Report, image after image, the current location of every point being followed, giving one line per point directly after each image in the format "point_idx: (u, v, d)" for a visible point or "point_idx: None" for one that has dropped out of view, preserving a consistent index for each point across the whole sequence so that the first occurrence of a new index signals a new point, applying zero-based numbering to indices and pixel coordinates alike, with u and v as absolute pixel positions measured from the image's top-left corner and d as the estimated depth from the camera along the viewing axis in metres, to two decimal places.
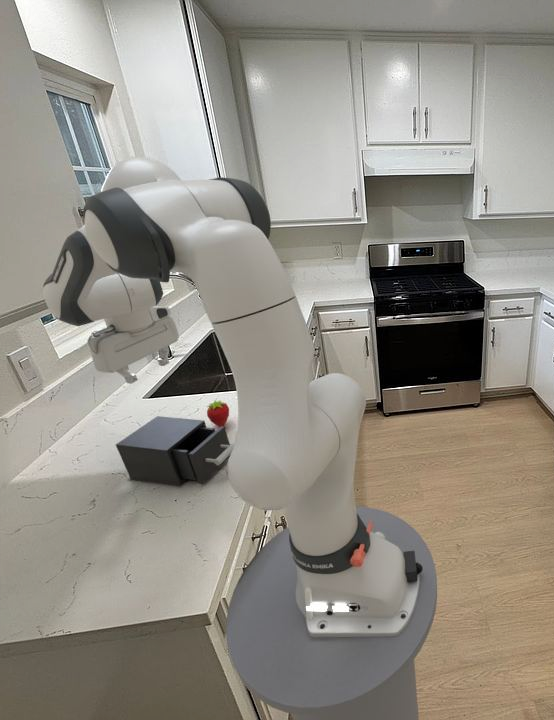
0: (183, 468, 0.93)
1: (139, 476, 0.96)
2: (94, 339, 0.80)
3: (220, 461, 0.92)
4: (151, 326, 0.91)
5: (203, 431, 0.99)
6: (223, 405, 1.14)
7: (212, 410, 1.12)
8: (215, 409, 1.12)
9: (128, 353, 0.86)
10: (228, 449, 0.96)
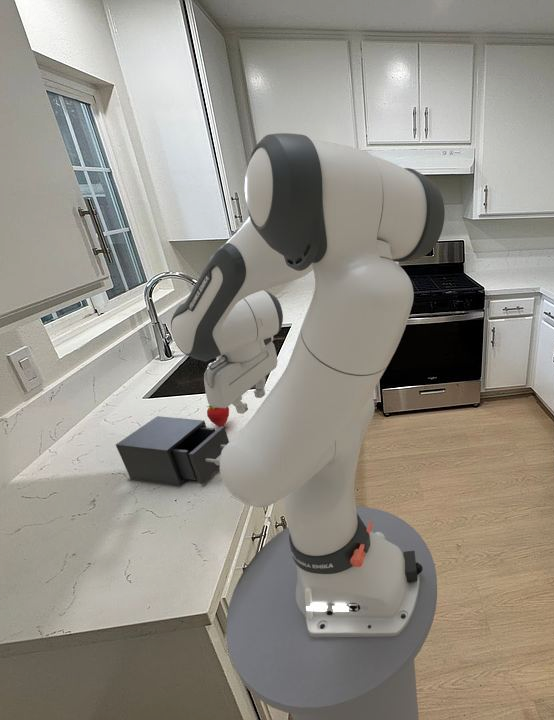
0: (183, 468, 0.93)
1: (139, 476, 0.96)
2: (210, 372, 0.73)
3: None
4: None
5: (203, 431, 0.99)
6: None
7: (212, 410, 1.12)
8: (215, 409, 1.12)
9: (238, 385, 0.79)
10: None
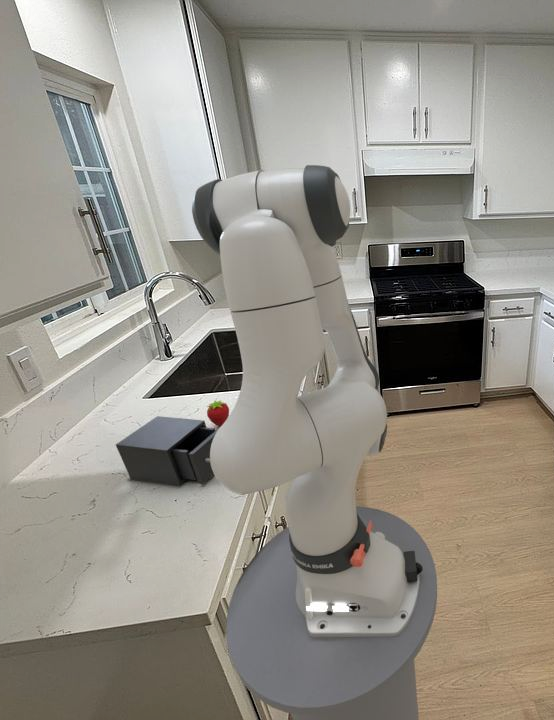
0: (183, 468, 0.93)
1: (139, 476, 0.96)
2: None
3: None
4: None
5: (203, 431, 0.99)
6: (223, 405, 1.14)
7: (212, 410, 1.12)
8: (215, 409, 1.12)
9: None
10: None
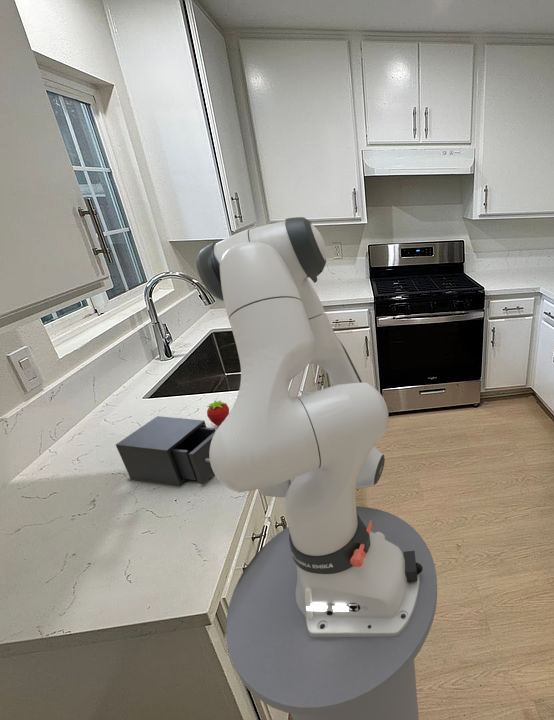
0: (183, 468, 0.93)
1: (139, 476, 0.96)
2: None
3: None
4: None
5: (203, 431, 0.99)
6: (223, 405, 1.14)
7: (212, 410, 1.12)
8: (215, 409, 1.12)
9: None
10: None
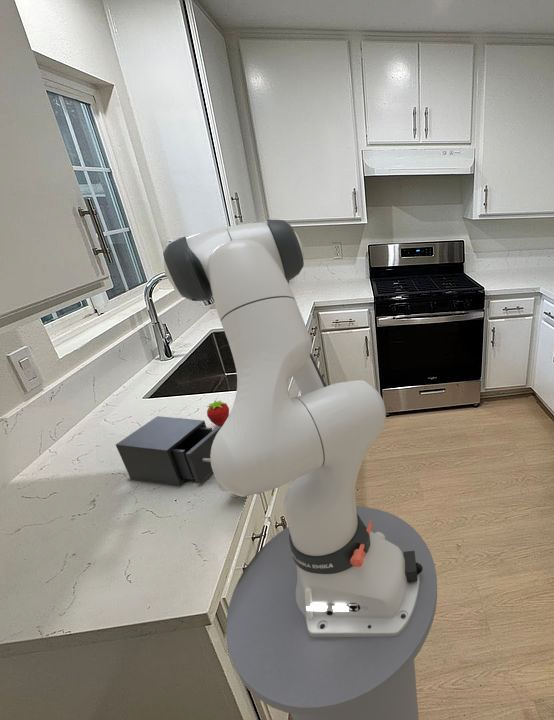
0: (180, 468, 0.93)
1: (139, 476, 0.96)
2: None
3: None
4: None
5: (200, 431, 1.00)
6: (223, 405, 1.14)
7: (212, 410, 1.12)
8: (215, 409, 1.12)
9: None
10: None
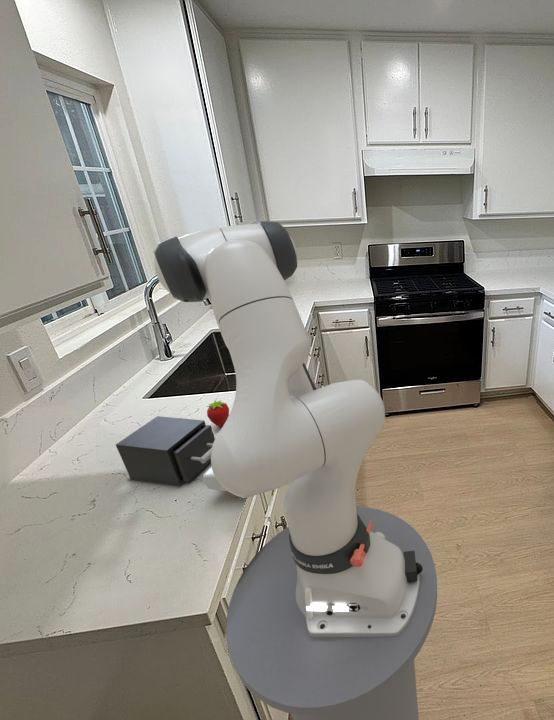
0: None
1: (139, 476, 0.96)
2: None
3: (205, 459, 0.93)
4: None
5: None
6: (223, 405, 1.14)
7: (212, 410, 1.12)
8: (215, 409, 1.12)
9: None
10: None
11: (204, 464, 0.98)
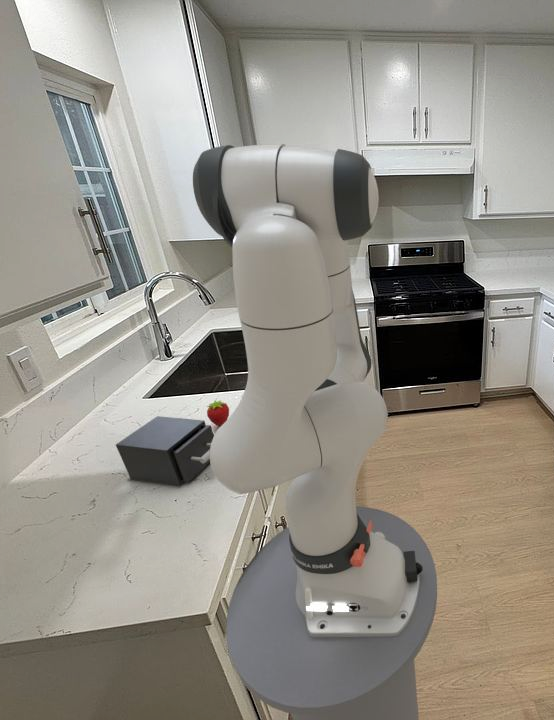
0: None
1: (139, 476, 0.96)
2: None
3: (205, 459, 0.93)
4: None
5: None
6: (223, 405, 1.14)
7: (212, 410, 1.12)
8: (215, 409, 1.12)
9: None
10: None
11: (204, 464, 0.98)
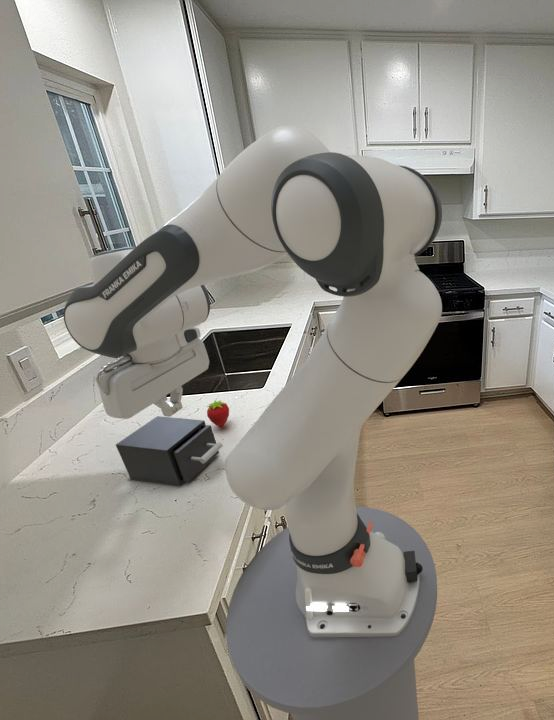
0: None
1: (139, 476, 0.96)
2: (105, 375, 0.59)
3: (205, 459, 0.93)
4: (177, 353, 0.70)
5: None
6: (223, 405, 1.14)
7: (212, 410, 1.12)
8: (215, 409, 1.12)
9: (148, 391, 0.65)
10: (214, 447, 0.96)
11: (204, 464, 0.98)
